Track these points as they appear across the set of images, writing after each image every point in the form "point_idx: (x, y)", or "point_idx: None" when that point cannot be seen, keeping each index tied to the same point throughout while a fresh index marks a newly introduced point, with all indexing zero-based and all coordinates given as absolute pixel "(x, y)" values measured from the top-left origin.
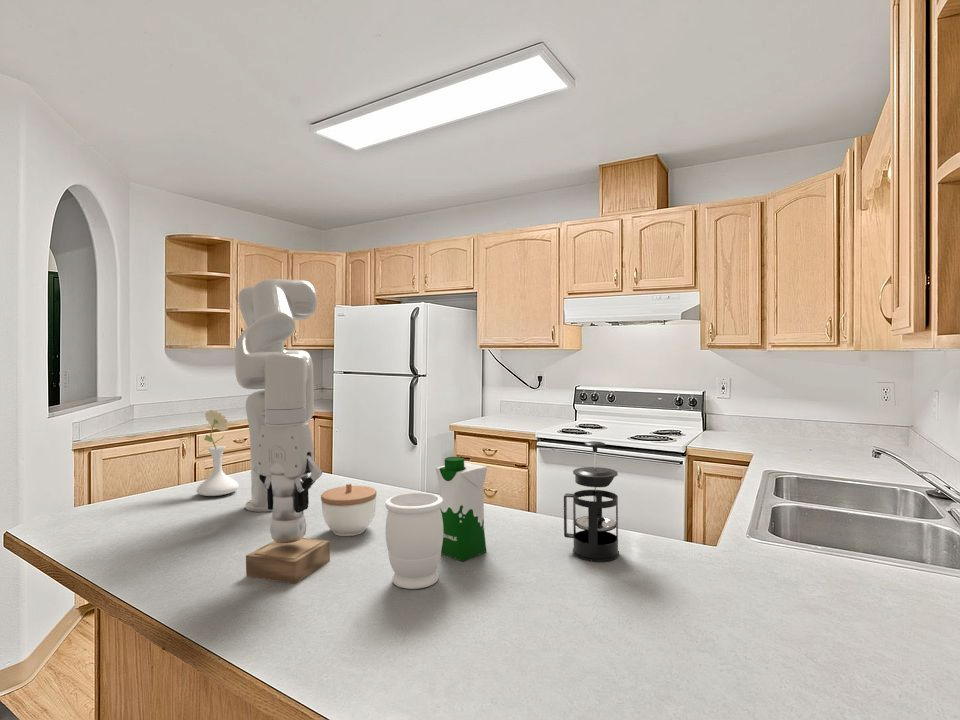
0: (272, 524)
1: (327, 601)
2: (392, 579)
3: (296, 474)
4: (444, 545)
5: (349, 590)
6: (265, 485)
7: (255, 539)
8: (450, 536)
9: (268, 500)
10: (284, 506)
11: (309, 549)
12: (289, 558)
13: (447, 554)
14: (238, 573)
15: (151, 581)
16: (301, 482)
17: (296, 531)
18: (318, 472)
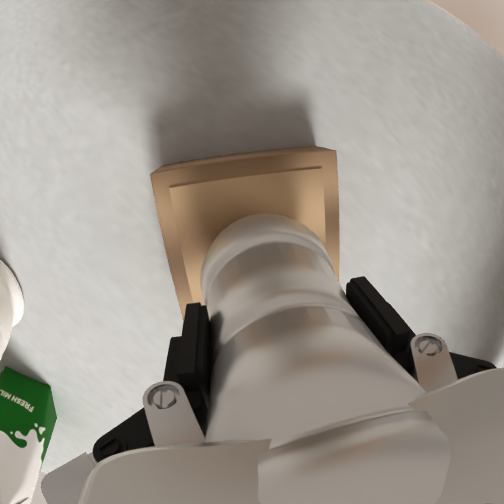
0: (299, 233)
1: (41, 140)
2: (5, 267)
3: (108, 470)
4: (29, 390)
5: (39, 200)
6: (436, 346)
7: (428, 308)
8: (5, 396)
9: (376, 297)
10: (248, 289)
11: (184, 262)
12: (186, 185)
13: (31, 380)
14: (348, 154)
15: (465, 77)
16: (153, 436)
17: (203, 261)
18: (43, 492)
